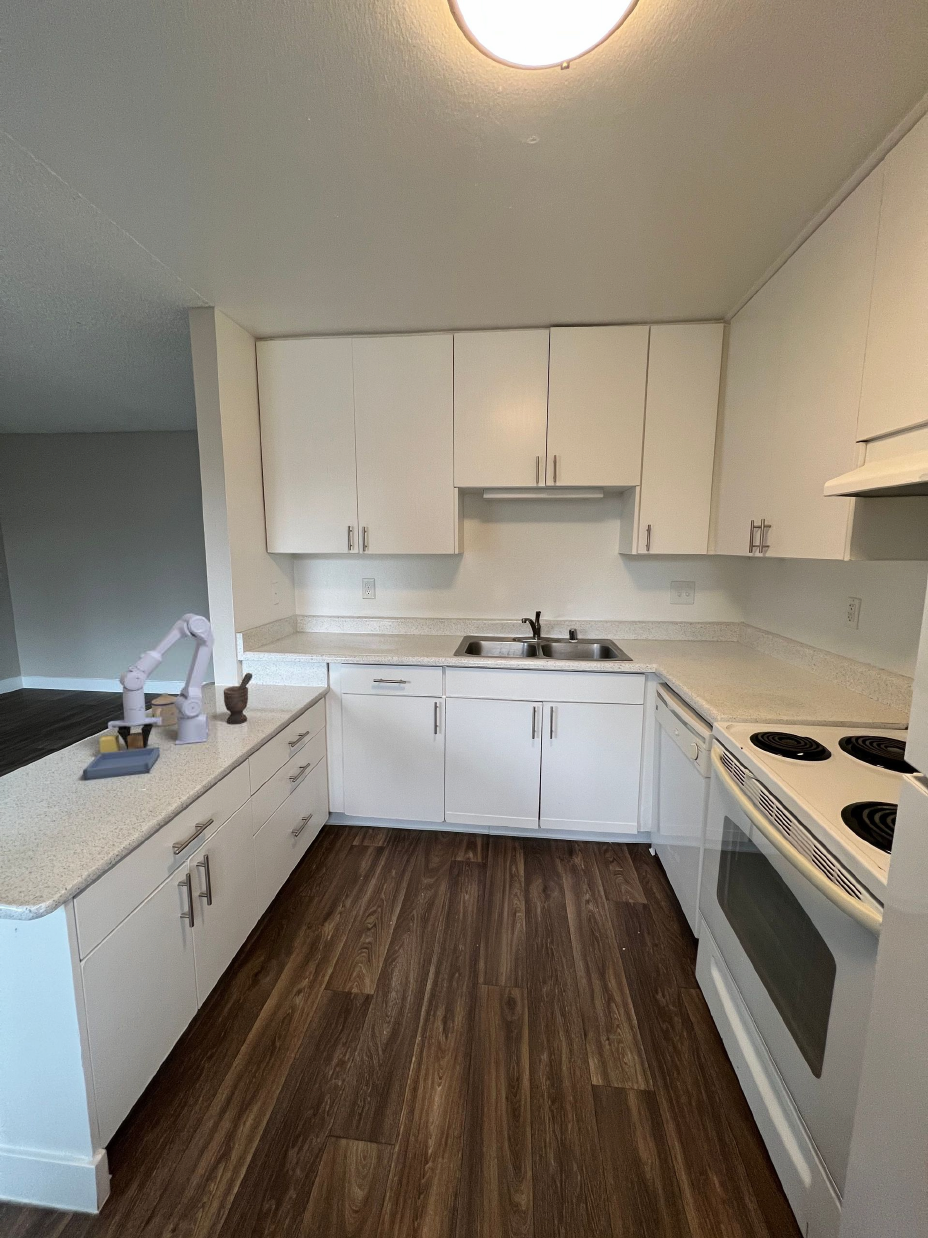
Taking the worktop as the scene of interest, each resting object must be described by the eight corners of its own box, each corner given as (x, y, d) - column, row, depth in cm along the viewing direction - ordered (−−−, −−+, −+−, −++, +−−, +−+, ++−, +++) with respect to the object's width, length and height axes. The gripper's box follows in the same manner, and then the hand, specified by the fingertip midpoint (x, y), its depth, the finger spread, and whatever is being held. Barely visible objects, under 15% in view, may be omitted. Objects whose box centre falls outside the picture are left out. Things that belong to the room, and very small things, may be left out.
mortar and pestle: (260, 717, 193) (258, 669, 190) (252, 725, 184) (250, 674, 182) (230, 717, 192) (228, 668, 190) (221, 725, 184) (218, 674, 181)
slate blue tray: (159, 755, 155) (159, 747, 155) (148, 773, 143) (148, 763, 143) (100, 762, 150) (99, 753, 150) (83, 780, 138) (82, 770, 138)
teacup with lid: (158, 719, 189) (156, 690, 187) (183, 718, 191) (182, 689, 189) (144, 730, 177) (142, 699, 176) (171, 729, 179) (169, 698, 177)
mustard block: (120, 751, 158) (118, 734, 157) (115, 756, 154) (114, 738, 154) (105, 753, 157) (104, 735, 156) (101, 758, 153) (99, 740, 152)
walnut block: (146, 749, 161) (145, 731, 160) (143, 753, 157) (141, 736, 156) (132, 750, 159) (131, 733, 158) (128, 755, 155) (127, 737, 155)
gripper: (163, 701, 162) (165, 740, 164) (112, 705, 157) (115, 745, 159) (157, 708, 156) (160, 748, 157) (104, 712, 151) (107, 753, 153)
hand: (137, 747), depth 158 cm, fingers closed on walnut block, 4 cm apart
